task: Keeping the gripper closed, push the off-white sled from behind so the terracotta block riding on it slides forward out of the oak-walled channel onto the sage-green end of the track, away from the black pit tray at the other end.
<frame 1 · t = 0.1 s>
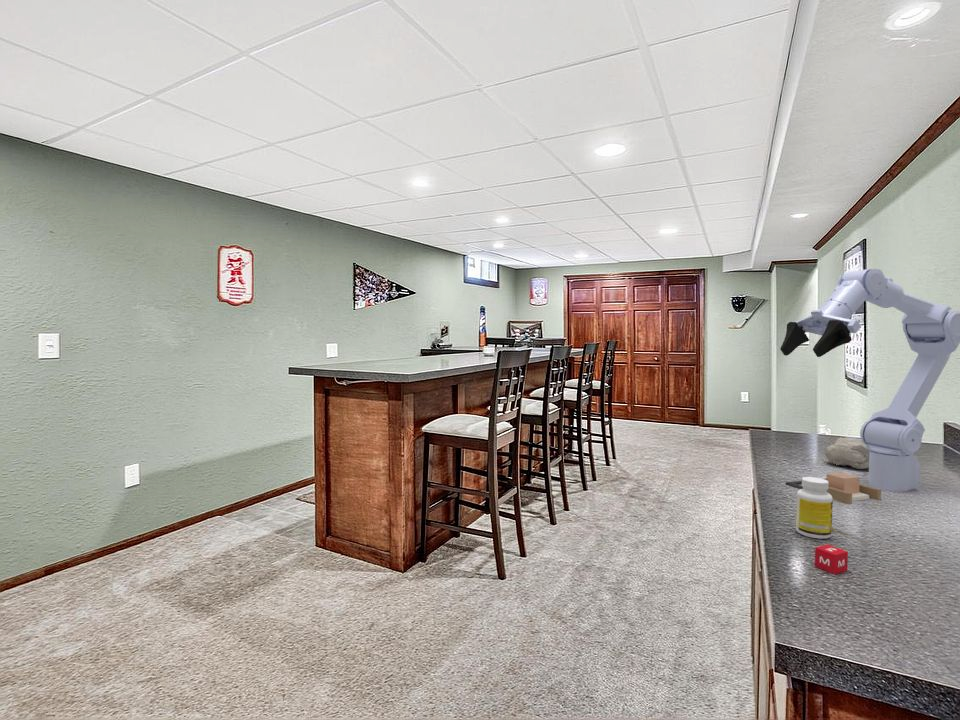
hand: (799, 352, 106), 32 cm above the counter, tool tilted 50°, fingers open, 7 cm apart
fossil replica: (850, 467, 137), on the counter
block: (842, 491, 110), point 2 cm above the counter, touching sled
supplement bottle: (813, 534, 91), on the counter
track: (850, 501, 108), on the counter
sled: (843, 487, 110), point 2 cm above the counter, slide at 0.0 cm, touching block
dice: (830, 570, 77), on the counter
pit: (811, 489, 117), on the counter
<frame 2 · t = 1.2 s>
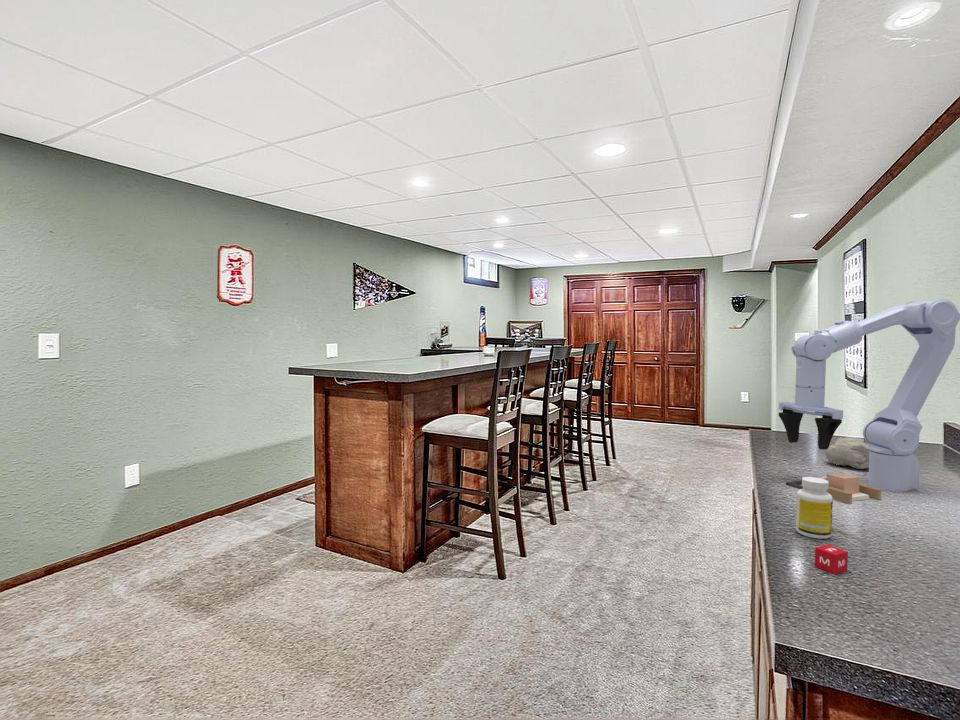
hand: (807, 445, 117), 10 cm above the counter, tool pointing down, fingers open, 7 cm apart
nothing on the counter moved.
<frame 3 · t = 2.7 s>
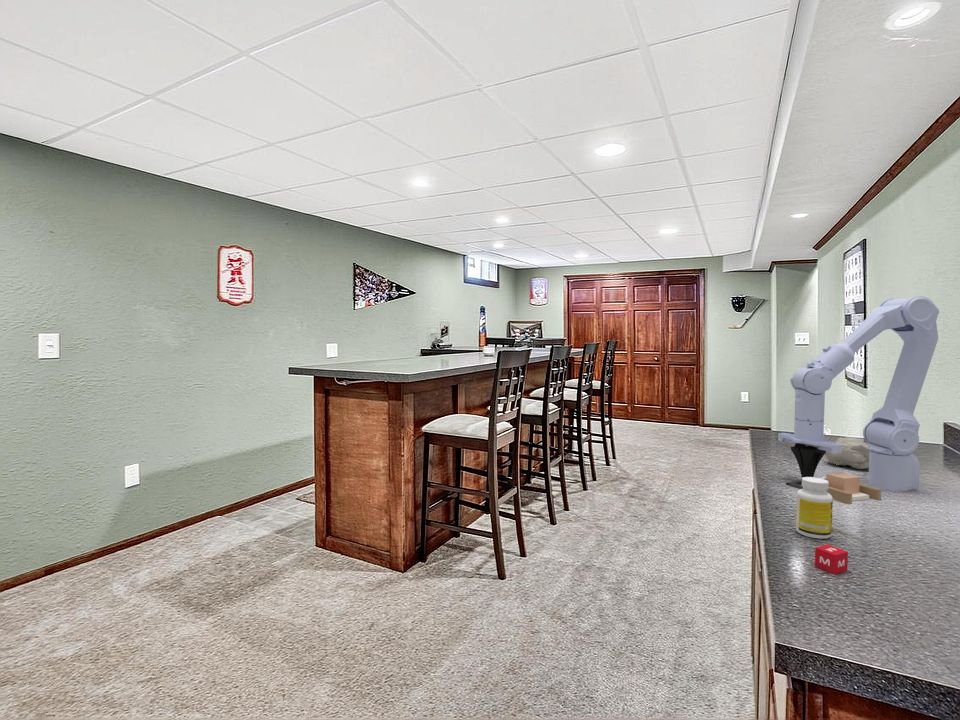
hand: (807, 477, 118), 2 cm above the counter, tool pointing down, fingers closed
nothing on the counter moved.
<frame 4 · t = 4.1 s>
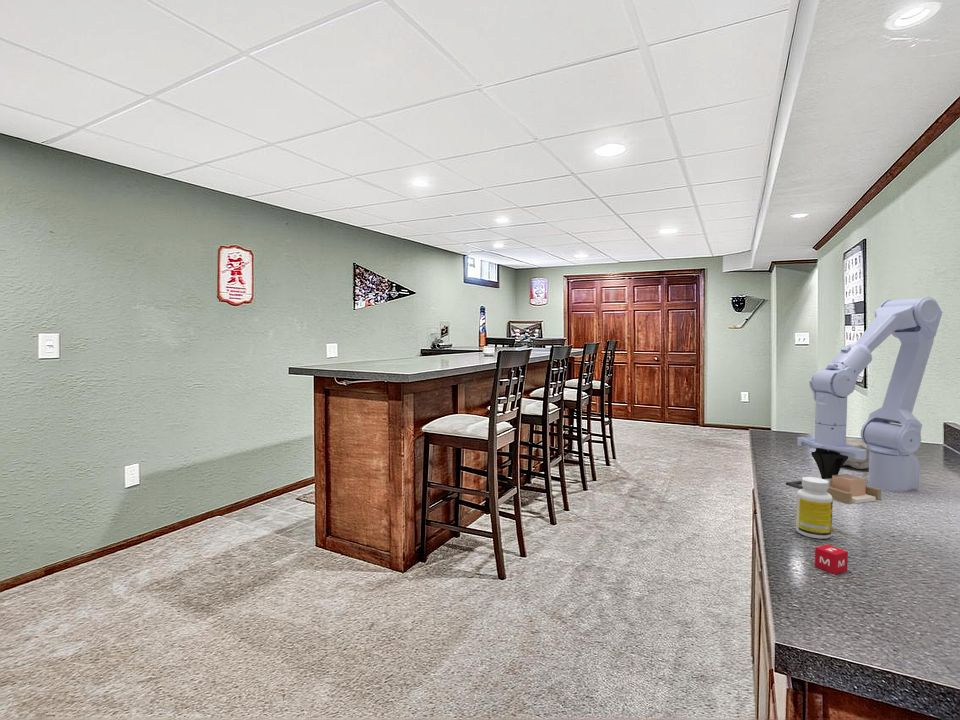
hand: (828, 484, 113), 2 cm above the counter, tool pointing down, fingers closed
block: (848, 493, 109), point 2 cm above the counter, touching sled
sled: (849, 489, 108), point 2 cm above the counter, slide at 1.3 cm, touching block, gripper
everything else where it was.
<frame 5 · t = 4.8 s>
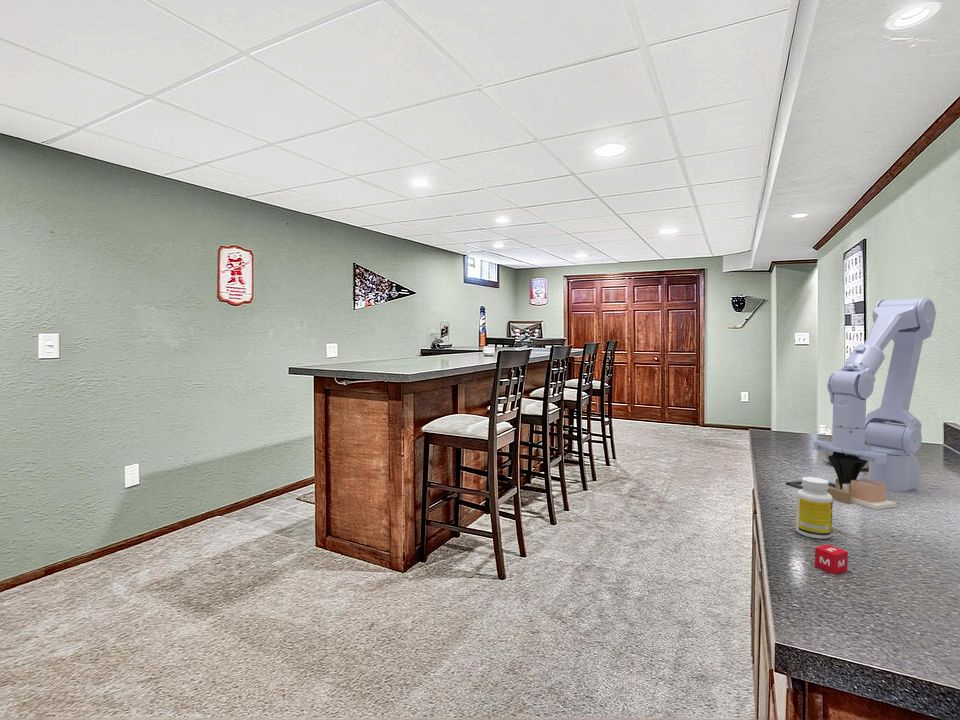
hand: (846, 489, 109), 2 cm above the counter, tool pointing down, fingers closed
block: (867, 498, 105), point 2 cm above the counter, touching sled
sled: (868, 495, 105), point 2 cm above the counter, slide at 5.3 cm, touching block, gripper
everything else where it was.
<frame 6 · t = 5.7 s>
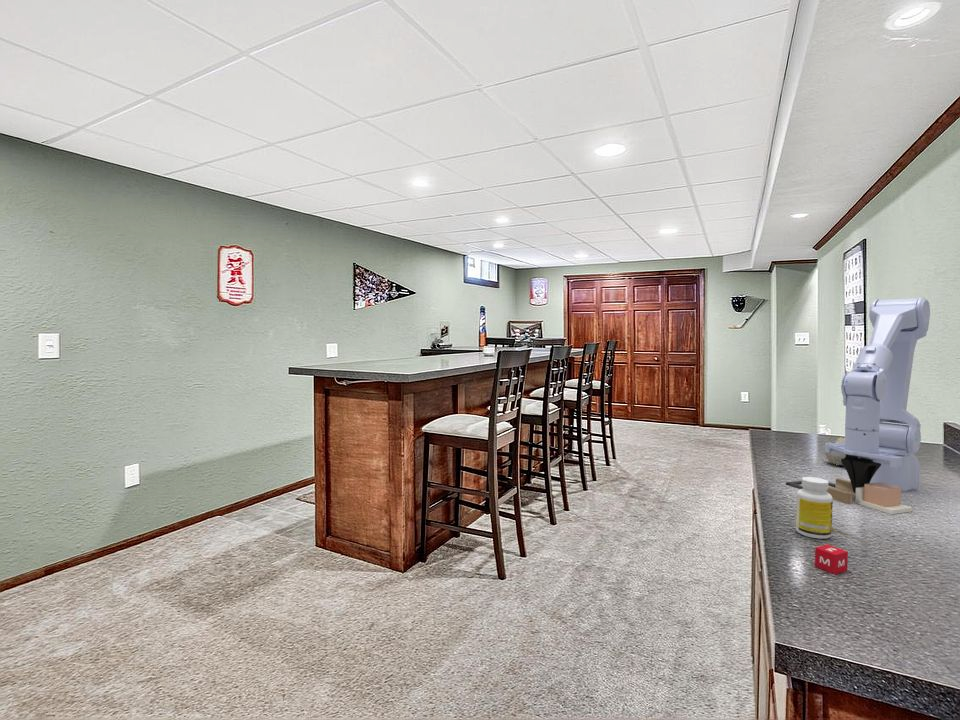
hand: (859, 493, 106), 2 cm above the counter, tool pointing down, fingers closed
block: (882, 502, 102), point 2 cm above the counter, touching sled
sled: (883, 499, 102), point 2 cm above the counter, slide at 8.1 cm, touching block, gripper
everything else where it was.
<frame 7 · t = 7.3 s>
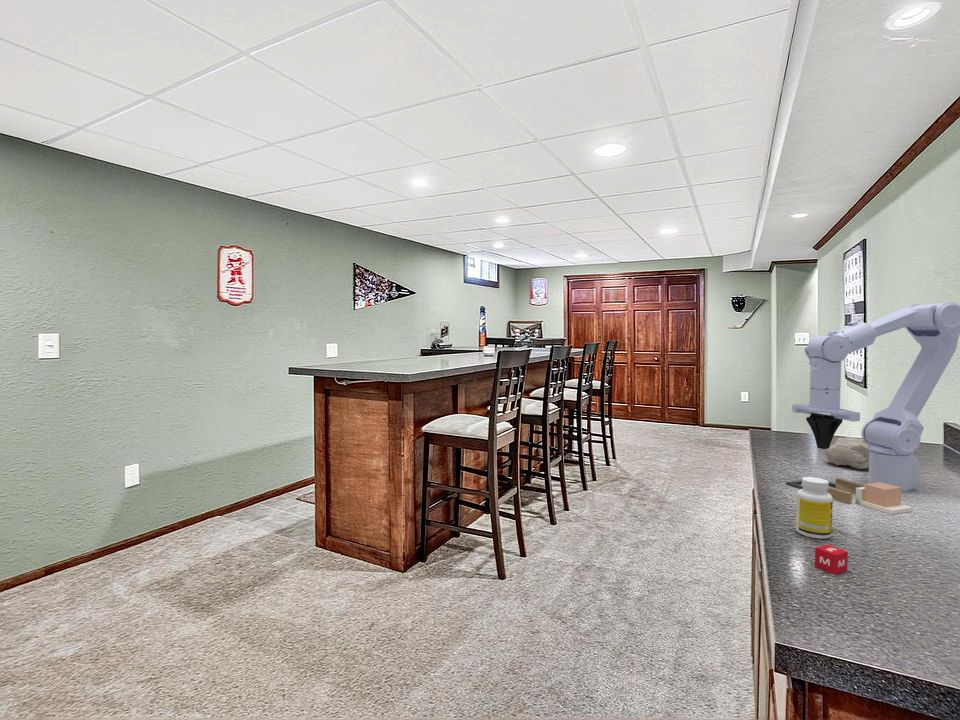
hand: (823, 448, 115), 10 cm above the counter, tool pointing down, fingers closed
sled: (883, 499, 102), point 2 cm above the counter, slide at 8.1 cm, touching block
everything else where it was.
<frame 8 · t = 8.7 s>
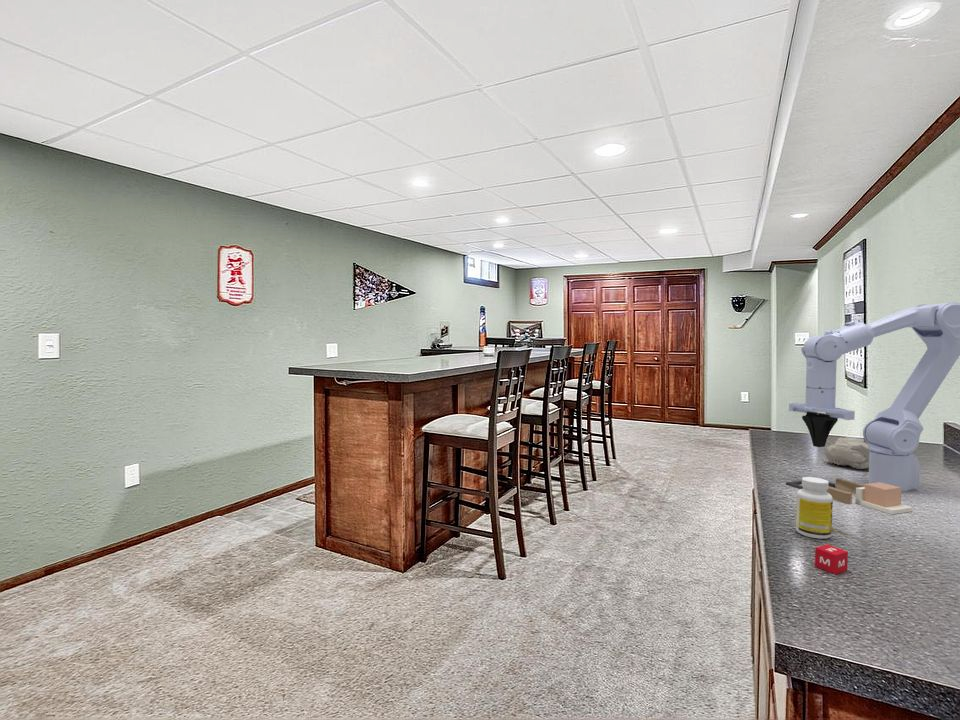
hand: (818, 446, 117), 10 cm above the counter, tool pointing down, fingers closed
nothing on the counter moved.
at the end: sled slide at 8.1 cm; block inside the target area (0.8 cm from its centre), point 1.7 cm above the counter; block tilted 0° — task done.
